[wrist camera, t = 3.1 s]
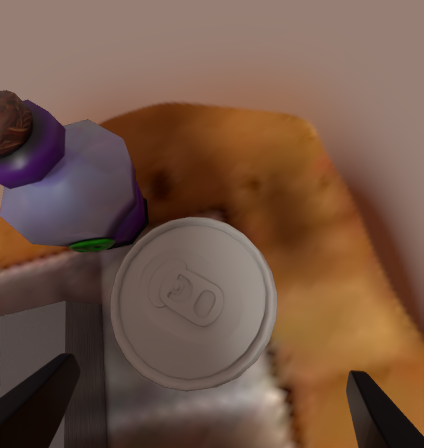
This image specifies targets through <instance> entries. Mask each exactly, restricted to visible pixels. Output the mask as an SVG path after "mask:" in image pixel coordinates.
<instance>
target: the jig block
mask: <svg viewBox="0 0 424 448" xmlns="http://www.w3.org/2000/svg"><path fill="white" fill-rule="evenodd" d="M61 353H72V354H74V355H75V357H76V359H77V362H78V364H79V366H80V369H81V374H80V377H79V380H78V382H77V385H76V387H75V390H74V392H73V395H72V397H71V400H70V402H69V404H68V407H67V409H66V412H65V414H64V417H63V419H62V421H61V424H60V426H59V428H58V430H57V432H56V434H55V436H54V438H53V440H52V442H51V444H50V446H49V448H107V430H106V405H105V380H104V355H103V330H102V305H101V304H92V303H83V302H74V301H62V302H57V303H53V304H49V305H45V306H41V307H37V308H32V309H28V310H24V311H20V312H16V313H12V314H7V315H3V316H0V397H2V396H3V395H5V394H6V393H7V392H9V391H10V390H11V389H13V388H14V387H16V386H17V385H18V384H20V383H21V382H22V381H24V380H25V379H26V378H28V377H29V376H31V375H32V374H33V373H35V372H36V371H37V370H39V369H40V368H41V367H43V366H44V365H46V364H47V363H48V362H50V361H51V360H52V359H54V358H55V357H57V356H58V355H59V354H61Z"/></svg>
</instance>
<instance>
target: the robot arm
mask: <svg viewBox="0 0 424 448" xmlns="http://www.w3.org/2000/svg"><path fill="white" fill-rule="evenodd" d="M80 374H81V369H80V366H79V364H78V362H77V359H76V357H75V355H74V354H72V353H61V354H59V355H58V356H57V357H55V358H54V359H52V360H51V361H50V362H48V363H47V364H46V365H44V366H43V367H41V368H40V369H39V370H37V371H36V372H35V373H33V374H32V375H31V376H29V377H28V378H26V379H25V380H24V381H22V382H21V383H20V384H18V385H17V386H16V387H14V388H13V389H11V390H10V391H9V392H7V393H6V394H5V395H3V396H2V397H0V448H49V446H50V444H51V442H52V440H53V438H54V436H55V434H56V432H57V430H58V428H59V426H60V424H61V421H62V419H63V417H64V414H65V412H66V409H67V407H68V404H69V402H70V400H71V397H72V395H73V392H74V390H75V387H76V385H77V382H78V380H79V377H80ZM346 393H347V399H348V403H349V408H350V412H351V416H352V421H353V425H354V430H355V434H356V438H357V443H358V447H359V448H424V436H423V435H422V434H421V433H420V432H419V431H418V430H417V428H416V427H415V426H414V425H413V424H412V423H411V422H410V421H409V419H408V418H407V417H406V416H405V415H404V414H403V413H402V412H401V411H400V409H399V408H398V407H397V406H396V405H395V404H394V403H393V402H392V400H391V399H390V398H389V397H388V396H387V395H386V394H385V393H384V392H383V390H382V389H381V388H380V387H379V386H378V385H377V384H376V383H375V381H374V380H373V379H372V378H371V377H370V376H369V375H368V374H367V373H366V372H364V371H354V370H351V371H350V372H349V376H348V382H347V387H346Z"/></svg>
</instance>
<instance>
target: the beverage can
mask: <svg viewBox="0 0 424 448" xmlns="http://www.w3.org/2000/svg"><path fill="white" fill-rule="evenodd" d="M276 311H277V292H276V288H275V283H274V279H273V275H272V272H271V270H270V268H269V266H268V264H267V262H266V260H265V258H264V256H263V254H262V253H261V252H260V251H259V250H258V249H257V248H256V247H255V245H254V244H253V243H252V242H251V241H250V240H249V239H248V238H247V237H246V236H245V235H244V234H243V233H241V232H240V231H238V230H237V229H235V228H233V227H232V226H230V225H229V224H227V223H224V222H220V221H217V220H214V219H211V218H201V217H187V218H182V219H177V220H172V221H169V222H167V223H165V224H163V225H161V226H158V227H156V228H154V229H153V230H151V231H150V232H149V233H147V234H146V235H145V236H144V237H142V238H141V239H140V240H139V241H137V243H136V244H135V245H134V246H133V248H132V249H131V250H130V251H129V252H128V254H127V255H126V256H125V258H124V260H123V262H122V264H121V266H120V268H119V270H118V272H117V274H116V276H115V281H114V285H113V289H112V293H111V322H112V326H113V330H114V334H115V338H116V341H117V343H118V345H119V346H120V348H121V350H122V352H123V354H124V355H125V357H126V359H127V360H128V361H129V362H130V363H131V364H132V366H133V367H134V368H135V369H136V370H137V371H138V372H139V373H140V374H141V375H142V376H144V377H146V378H147V379H149V380H151V381H153V382H155V383H157V384H159V385H161V386H162V387H166V388H172V389H177V390H182V391H192V390H200V389H207V388H215V387H218V386H220V385H223V384H225V383H227V382H229V381H231V380H234V379H236V378H238V377H239V376H240V375H241V374H243V373H244V372H245V371H246V370H247V369H248V368H249V367H250V366H252V365H253V364H254V363H255V362H256V361H257V359H258V358H259V356H260V355H261V353H262V351H263V350H264V348H265V347H266V345H267V344H268V342H269V340H270V337H271V334H272V330H273V327H274V324H275V320H276Z"/></svg>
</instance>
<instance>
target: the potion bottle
mask: <svg viewBox="0 0 424 448" xmlns="http://www.w3.org/2000/svg"><path fill="white" fill-rule="evenodd" d="M0 184H1V185H3V186H4V190H3V197H2V205H1V212H0V216H1V217H2V218H3V219H4V220H6V221H7V222H8V223H9V224H10V225H11V226H12V227H14V228H15V229H16V230H17V231H18V232H19V233H20V234H22V235H23V236H24V237H25V238H26V239H27V240H28V241H29V242H31V243H32V244H39V245H52V246H65V247H69V248H70V249H71V250H73V251H77V252H99V251H101V250H106V249H107V250H108V249H113V248H117V247H122V246H126V245H130V244H133V242H134V241H135V240H136V238H137V237H138V236H139V235H140V233H141V232H142V231H143V229H144V228H145V227H146V225H147V224H148V223H149V222H148V211H147V200H146V199H145V198H143V196H142V194H141V191H140V189H139V186H138V184H137V181H136V176H135V169H134V166H133V163H132V161H131V158H130V155H129V153H128V150H127V148H126V145H125V142H124V140H123V138H121V137H119V136H118V135H116V134H114V133H112V132H110V131H108V130H107V129H105V128H103V127H101V126H99V125H98V124H96V123H94V122H92V121H90V120H88V119H87V120H83V121H80V122H76V123H73V124H69V125H65V126H62V125H61V124H60V123H59V122H58V121H57V120H56V119H55V118H54V117H53V116H52V115H51V114H50V113H49V112H48V111H46V110H45V109H43V108H41V107H40V106H38V105H36V104H34V103H33V102H31V101H29V100H25V101H22V100H21V99H20V98H19V97H18V96H17V95H16V94H15V93H13V92H10V91H7V90H6V91H0Z"/></svg>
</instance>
